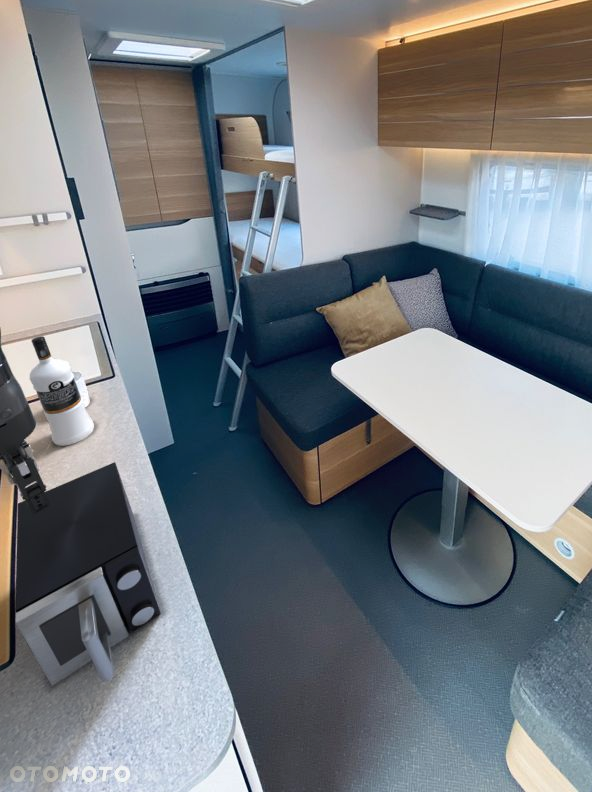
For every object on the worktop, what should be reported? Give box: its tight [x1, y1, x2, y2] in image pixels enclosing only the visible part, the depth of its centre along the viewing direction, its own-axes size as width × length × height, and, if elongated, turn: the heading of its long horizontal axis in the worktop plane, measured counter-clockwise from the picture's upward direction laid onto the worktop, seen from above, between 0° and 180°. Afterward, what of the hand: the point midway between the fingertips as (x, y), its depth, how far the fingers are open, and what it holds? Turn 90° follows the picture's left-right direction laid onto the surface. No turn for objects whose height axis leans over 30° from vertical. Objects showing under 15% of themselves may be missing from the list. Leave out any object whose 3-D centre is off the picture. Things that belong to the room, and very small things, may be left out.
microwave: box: [14, 461, 162, 633], centre depth 70 cm, size 24×15×16 cm, turn 38°
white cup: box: [72, 371, 91, 408], centre depth 120 cm, size 8×8×10 cm
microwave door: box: [15, 567, 129, 686], centre depth 59 cm, size 8×10×16 cm
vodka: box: [29, 335, 95, 447], centre depth 105 cm, size 9×9×30 cm
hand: (32, 494), depth 64 cm, fingers open, 8 cm apart
